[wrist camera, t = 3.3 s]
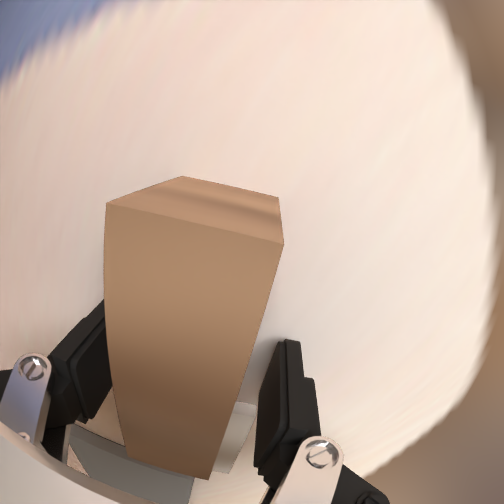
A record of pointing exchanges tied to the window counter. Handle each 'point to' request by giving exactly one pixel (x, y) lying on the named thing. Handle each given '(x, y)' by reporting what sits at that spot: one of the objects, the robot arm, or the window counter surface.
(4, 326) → the window counter surface
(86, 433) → the mat
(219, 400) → the wooden handled scraper
